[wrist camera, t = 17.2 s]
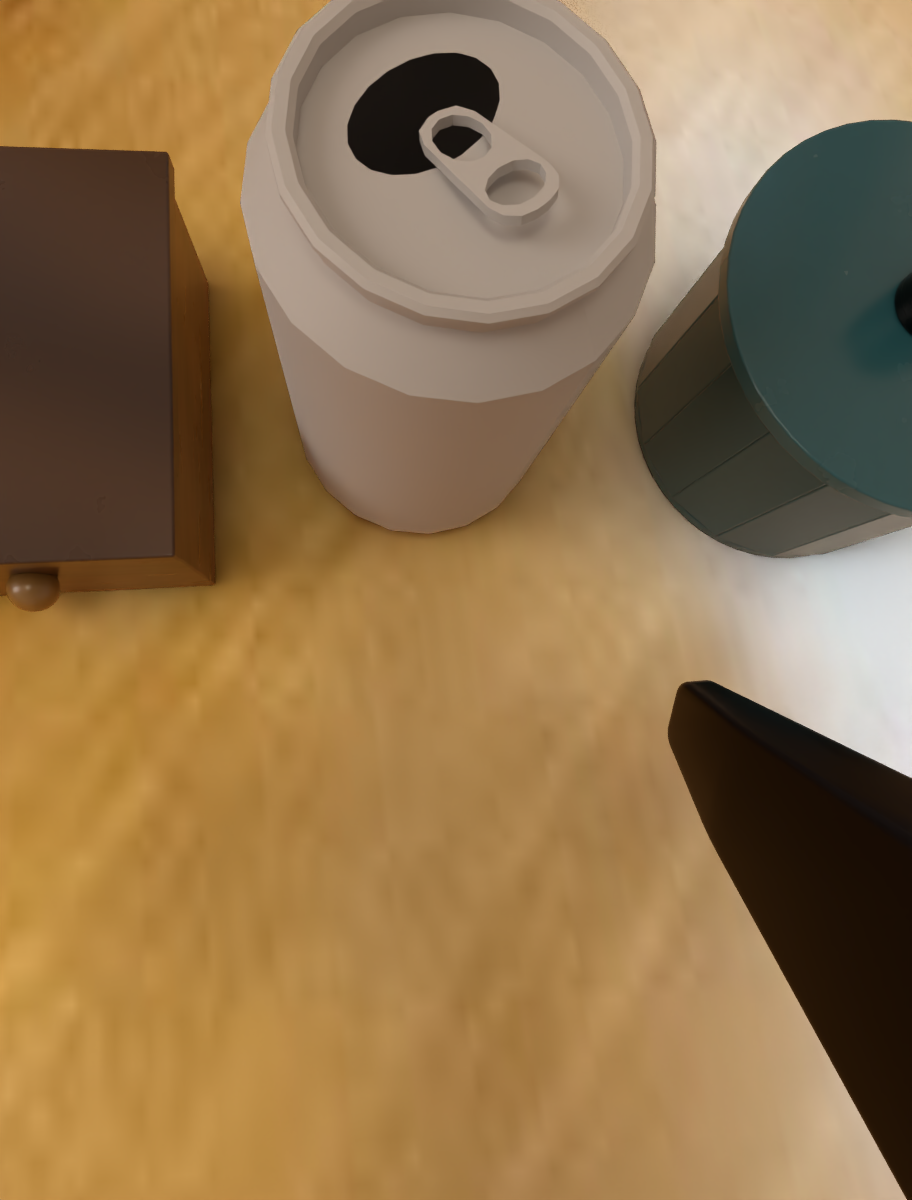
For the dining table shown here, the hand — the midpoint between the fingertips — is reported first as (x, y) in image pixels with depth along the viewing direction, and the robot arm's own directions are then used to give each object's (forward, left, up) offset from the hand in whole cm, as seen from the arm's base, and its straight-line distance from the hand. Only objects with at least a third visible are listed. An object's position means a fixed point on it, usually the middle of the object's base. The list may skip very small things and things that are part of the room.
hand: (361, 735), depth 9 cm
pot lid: (-9, -15, -6) cm, 18 cm away
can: (+2, -9, -12) cm, 15 cm away
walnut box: (+12, -4, -12) cm, 17 cm away
